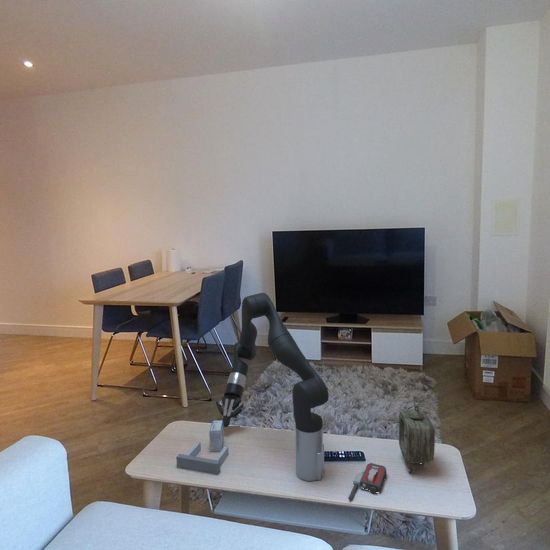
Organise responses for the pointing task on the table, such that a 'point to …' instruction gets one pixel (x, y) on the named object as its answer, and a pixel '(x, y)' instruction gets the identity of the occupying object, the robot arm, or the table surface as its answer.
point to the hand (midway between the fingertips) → (224, 426)
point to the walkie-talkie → (369, 479)
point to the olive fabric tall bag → (416, 436)
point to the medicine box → (216, 435)
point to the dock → (201, 460)
